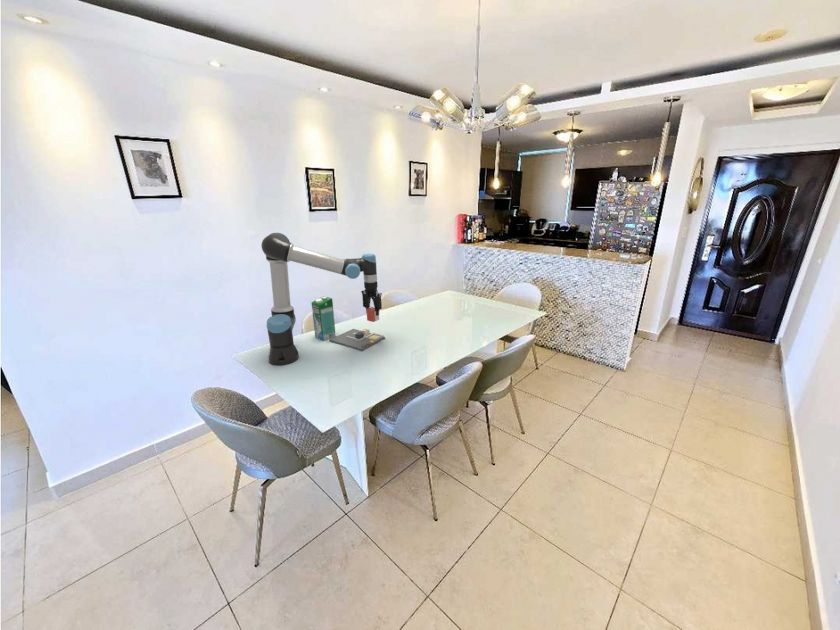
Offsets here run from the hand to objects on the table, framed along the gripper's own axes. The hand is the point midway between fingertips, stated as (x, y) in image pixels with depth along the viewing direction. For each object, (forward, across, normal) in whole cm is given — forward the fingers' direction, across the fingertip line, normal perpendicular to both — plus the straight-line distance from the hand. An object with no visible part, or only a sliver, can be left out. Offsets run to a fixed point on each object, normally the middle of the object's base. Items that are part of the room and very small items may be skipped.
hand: (373, 319), depth 201 cm
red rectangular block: (0, 0, 0) cm, 0 cm away
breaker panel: (+13, -9, -5) cm, 17 cm away
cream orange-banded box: (+12, -7, +1) cm, 14 cm away
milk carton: (+13, -29, -13) cm, 34 cm away
